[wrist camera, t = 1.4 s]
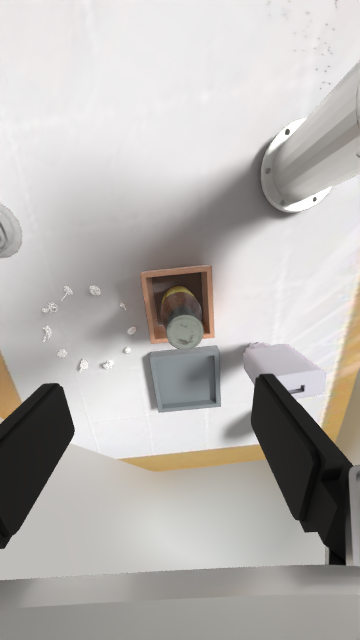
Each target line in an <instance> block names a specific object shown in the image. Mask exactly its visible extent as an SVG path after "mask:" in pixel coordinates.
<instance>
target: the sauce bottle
mask: <svg viewBox="0 0 360 640" xmlns="http://www.w3.org/2000/svg"><path fill="white" fill-rule="evenodd" d="M160 318H161V321H162V323H163V326H164V327H165V329H166V336H167V339H168V341H169V343H170V344H171V345H172V346H174V347H176V348H177V349H181V350H186V349H191V348H194V347H195V346H197V345H198V344H199V343H200V342H201V340H202V338H203V334H204V329H203V325H202V323H201V318H202V310H201V307H200V304H199V302H198V301H197V299H196V298H195V296H194V295H193V294H192V293H191V292H190V290H188V289H187V288H185V287H183V286H174V287H172V288H170V289H168V290H167V291H166V293H165V294H164V297H163V300H162V304H161V309H160Z"/></svg>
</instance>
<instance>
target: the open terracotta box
mask: <svg viewBox="0 0 360 640" xmlns="http://www.w3.org/2000/svg"><path fill="white" fill-rule="evenodd" d="M196 272H201V276H202V294H203V311H204V322H201V323H202V325H203V329H204V334H203V338H202V339H206V338H215V337H214V312H213V287H212V266H209V265H198V266H188V267H179V268H169V269H159V270H149V271H144V272H141V273H140V277H141V283H142V289H143V296H144V302H145V308H146V314H147V321H148V327H149V333H150V339H151V344H155V343H165V342H169V341H168V339H167V336H166V329H165V327H164V326H158V320H157V313H156V306H155V299H154V292H153V285H152V278H151V277H157V276H167V275H177V274H186V273H196Z"/></svg>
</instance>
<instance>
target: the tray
mask: <svg viewBox="0 0 360 640" xmlns="http://www.w3.org/2000/svg"><path fill="white" fill-rule="evenodd" d="M149 358H150V364H151V370H152V376H153V382H154V388H155V394H156V400H157V406H158V412H159V413H160V412H170V411H181V410H191V409H201V408H212V407H221V395H220V365H219V350H218V348H217V346H206V347H196V348H191V349H186V350H181V349H176V350H166V351H156V352H151V353H150V357H149Z"/></svg>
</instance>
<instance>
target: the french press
mask: <svg viewBox="0 0 360 640" xmlns="http://www.w3.org/2000/svg"><path fill="white" fill-rule="evenodd" d="M21 244H22V231H21V228H20V225H19V222H18V220H17V218H16V217H15V216H14V214H13V213H12V212H11V210H10V209H8V208H7V207H5V206H4V205H3V204H1V203H0V258H5V257H10V256H12V255H13V254H15V253H16V252H18V250H19V248H20V246H21Z"/></svg>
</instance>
